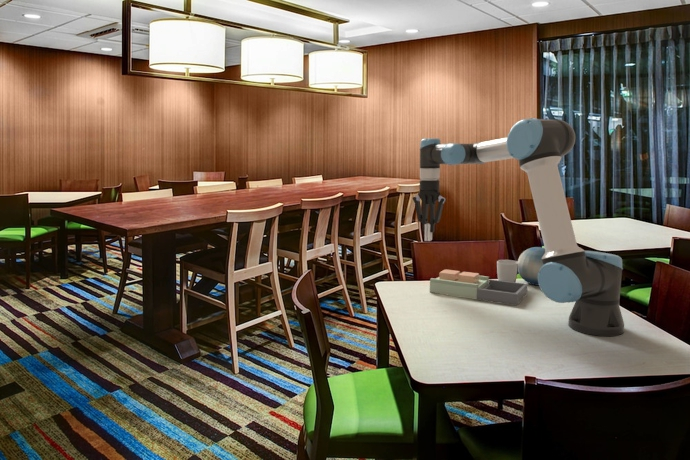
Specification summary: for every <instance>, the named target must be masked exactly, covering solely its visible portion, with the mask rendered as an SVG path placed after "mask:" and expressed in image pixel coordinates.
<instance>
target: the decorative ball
mask: <svg viewBox="0 0 690 460" xmlns="http://www.w3.org/2000/svg"><path fill="white" fill-rule="evenodd" d="M544 254H545V247H541V246H534V247H530V248H527V249H526V250H523V251H522V252H521V253H520V255H519V257H518V259H517V262H519V265H518V275H519V276H520V278H521V279H522V280H524V281H525V282H526V283H527V284H530V285H534V286H539V283H538V273H539V272H540V271H539V270H540V268H541V267H542V266H543V263H542V257H543V255H544Z"/></svg>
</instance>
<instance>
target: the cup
mask: <svg viewBox="0 0 690 460" xmlns="http://www.w3.org/2000/svg"><path fill="white" fill-rule="evenodd" d="M518 265H519V262H518V260H512V259H498V260H496V274H497V280H500V281H508V282H516V283H517V279H518V278H517V277H518V275H519V272H518Z"/></svg>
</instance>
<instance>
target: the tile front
mask: <svg viewBox="0 0 690 460" xmlns="http://www.w3.org/2000/svg"><path fill="white" fill-rule="evenodd" d="M460 273H461V274H459V275H458V282H465V283H473V284H476V283H477V282H478V281H479V275H480V273H478V272H471V271H462V272H460Z"/></svg>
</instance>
